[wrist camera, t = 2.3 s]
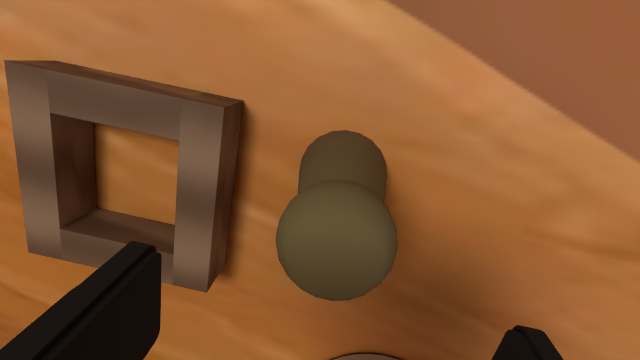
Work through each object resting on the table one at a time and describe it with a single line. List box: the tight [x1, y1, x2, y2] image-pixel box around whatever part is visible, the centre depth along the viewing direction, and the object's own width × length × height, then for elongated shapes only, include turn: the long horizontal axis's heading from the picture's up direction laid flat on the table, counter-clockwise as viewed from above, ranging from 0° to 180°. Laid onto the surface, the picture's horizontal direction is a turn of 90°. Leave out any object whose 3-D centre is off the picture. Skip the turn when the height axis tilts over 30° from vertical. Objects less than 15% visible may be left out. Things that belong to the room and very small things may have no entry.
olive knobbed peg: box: [276, 130, 397, 301], centre depth 18 cm, size 6×6×11 cm
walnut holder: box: [4, 61, 243, 292], centre depth 23 cm, size 13×13×4 cm
